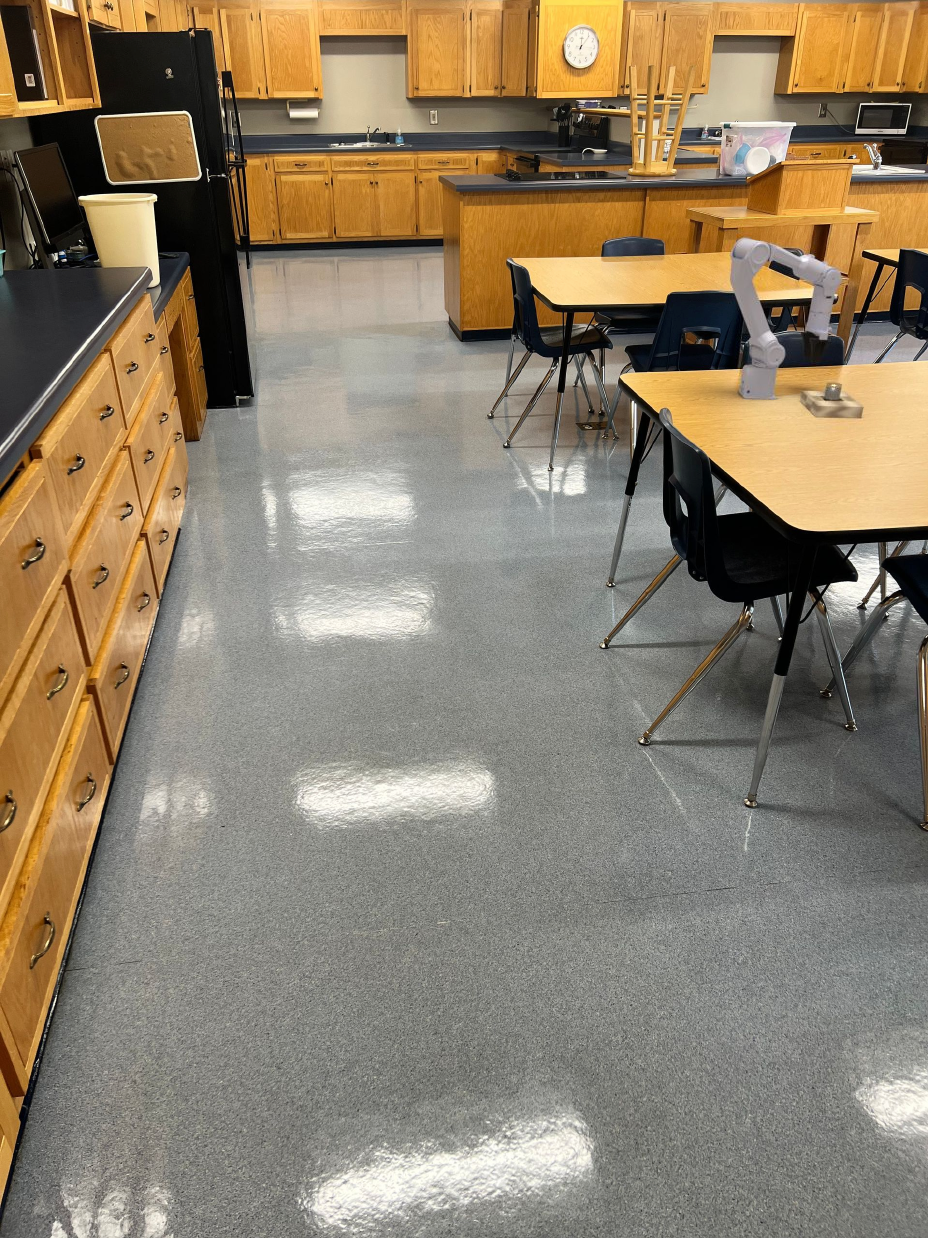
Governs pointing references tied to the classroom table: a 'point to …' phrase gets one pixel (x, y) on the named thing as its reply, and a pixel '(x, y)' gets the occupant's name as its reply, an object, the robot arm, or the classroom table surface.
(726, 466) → the classroom table surface
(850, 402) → the block
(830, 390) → the pin
